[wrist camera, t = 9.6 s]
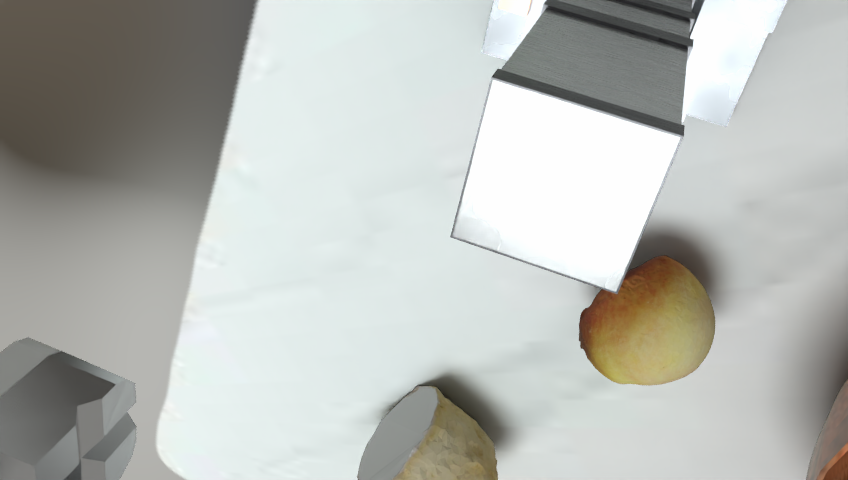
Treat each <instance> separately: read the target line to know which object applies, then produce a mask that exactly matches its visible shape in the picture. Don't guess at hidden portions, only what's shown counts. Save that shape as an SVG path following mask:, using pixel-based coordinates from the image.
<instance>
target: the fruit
mask: <svg viewBox="0 0 848 480" xmlns="http://www.w3.org/2000/svg"><path fill="white" fill-rule="evenodd" d="M714 334H715V316H714V311H713V307H712V304H711V301H710V299H709V296H708V294H707V292H706V291H705V289H704V287H703V286H702V285H701V283H700V282H699V281H698V280H697V278H696V277H695V276H694V275H693V274H692V273H691V272H690V271H689V270H688V269H687V268H686V267H685V266H683V265H682V264H680V263H679V262H677V261H675V260H673V259H672V258H669V257H668V256H665V255H663V256H658V257H654V259H651V260H649V261H647V262H646V263H644V264H643V265H641V266H639V267H637V268H634V269H632V270H630V271H628V272H627V273H626V275H625V277H624V280H623V282H622V285H621V287H620V289H619V292H618V294H615V293H612V292H609V291H606V290H603V289H602V290H601V291H600V292H599V293H598V294H597V296H596V297H595V299H594V300H593V302H592V304H591V305H590V307H588V308H585V309H584V310H583V311H582V313H581V317H580V323H579V341H580V342H581V345H580V347H581V349H582V348H583V349H584V350H585V353H586V356H587V358H588V359H589V360H590V362H591V363H592V364H593V366H594V367H595V368H596V369H597V370H598V371H599V372H600V373H601V374H603V375H604V376H605V377H607V378H608V379H610V380H612V381H613V382H616V383H619V384H638V385H659V384H664V383H668V382H672V381H675V380H678V379H681V378H683V377H685V376H687V375H689V374H690V373H692V372H693V371H695V370H696V369H697V368H698V367H699V365H700V364H701V363H702V362H703V360H704V359H705V357H706V356H707V354H708V352H709V350H710V348H711V345H712V342H713V338H714Z"/></svg>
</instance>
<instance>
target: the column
mask: <svg viewBox="0 0 848 480" xmlns="http://www.w3.org/2000/svg"><path fill="white" fill-rule="evenodd" d="M694 3H695V0H546V1H545V3H544V4H543V7H542V11H541V15H540V17H539V19H538V20H537V21H536V23H535V24H534V25H533V27H532V28H531V30H530V31H529V32H528V34H527V35H526V36H525V38H524V39H523V40H522V42H521V43H520V44H519V46H518V47H517V49H516V50H515V51H514V53H513V54H512V55H511V57H510V58H509V59H508V61H507V62H506V63H505V65H504V66H503V68H502V69H497V71H496V72H495V73H494V75H493V76H492V77H491V81H490V85H489V89H488V93H487V97H486V101H485V105H484V108H483V112H482V116H481V120H480V124H479V128H478V132H477V136H476V139H475V143H474V147H473V151H472V155H471V159H470V163H469V167H468V171H467V174H466V178H465V182H464V186H463V190H462V194H461V198H460V202H459V205H458V209H457V213H456V217H455V221H454V225H453V229H452V233H451V236H450V237H452V238H455V239H458V240H460V241H463V242H466V243H469V244H472V245H475V246H478V247H481V248H484V249H487V250H490V251H493V252H495V253H498V254H501V255H504V256H507V257H510V258H513V259H516V260H519V261H522V262H525V263H527V264H530V265H533V266H536V267H539V268H542V269H545V270H548V271H551V272H554V273H557V274H560V275H562V276H565V277H568V278H571V279H574V280H577V281H580V282H583V283H586V284H589V285H592V286H595V287H597V288H600V289H603V290H606V291H609V292H612V293H615V294H618V292H619V289H620V287H621V285H622V282H623V280H624V277H625V275H626V273H627V270H628V268H629V265H630V263H631V261H632V258H633V256H634V254H635V251H636V249H637V246H638V244H639V242H640V239H641V237H642V234H643V232H644V230H645V227H646V225H647V222H648V220H649V218H650V215H651V213H652V210H653V208H654V206H655V203H656V201H657V199H658V196H659V194H660V191H661V189H662V187H663V184H664V182H665V179H666V177H667V175H668V172H669V170H670V167H671V165H672V163H673V160H674V158H675V155H676V153H677V151H678V148H679V146H680V143H681V141H682V139H683V136H684V125H681V123H682V112H683V100H684V89H685V78H686V66H687V61H688V59H689V56H690V54H691V51H692V49H693V41H694V39H690V38H689V34H690V31H691V29H692V26H693V24H694V21H695V13H692V12H691V10H692V8H693V5H694Z"/></svg>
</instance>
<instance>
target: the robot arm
mask: <svg viewBox="0 0 848 480" xmlns="http://www.w3.org/2000/svg"><path fill="white" fill-rule="evenodd" d="M135 403H136V391H135V383H134V382H132V381H130V380H127V379H125V378H122V377H120V376H118V375H116V374H113V373H111V372H109V371H107V370H104V369H101V368H100V367H97V366H95V365H92V364H90V363H88V362H86V361H84V360H81V359H79V358H77V357H74V356H72V355H70V354H67V353H65V352H62V351H60V350H58V349H55V348H53V347H51V346H48V345H46V344H43V343H41V342H38V341H36V340H33V339H31V338H25V339H22V340H19V341H16V342H13V343H12V344H11V345H9V346H8V347H7V348H5V349H4V350H3V351H2V352H0V480H119V479H120V478H121V476H122V474H123V472H124V471H125V469H126V467H127V465H128V463H129V461H130V459H131V457H132V455H133V451H134V447H135V443H136V425H135V423H134V422H133V420H132V419H131V417H130V416H129V414H128V412H127V411H128V410H129V409H130V408H131V407H132V406H133V405H134V404H135Z"/></svg>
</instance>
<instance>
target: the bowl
mask: <svg viewBox="0 0 848 480" xmlns="http://www.w3.org/2000/svg"><path fill="white" fill-rule="evenodd" d="M806 480H848V379H847V381H846V382H845V383H844V385H843V386H842V388H841V389H840V391H839V393H838V395H837V397H836V399H835V401H834V404H833V406H832V408H831V410H830V413H829V415H828V417H827V419H826V422H825V424H824V426H823V428H822V431H821V433H820V435H819V438H818V440H817V443H816V445H815V448H814V451H813V454H812V457H811V461H810V465H809V469H808V473H807V477H806Z"/></svg>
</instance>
